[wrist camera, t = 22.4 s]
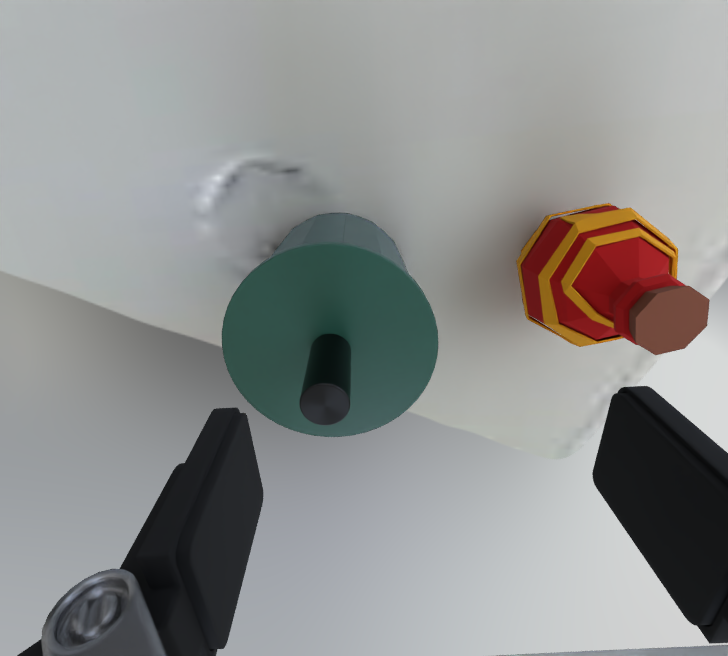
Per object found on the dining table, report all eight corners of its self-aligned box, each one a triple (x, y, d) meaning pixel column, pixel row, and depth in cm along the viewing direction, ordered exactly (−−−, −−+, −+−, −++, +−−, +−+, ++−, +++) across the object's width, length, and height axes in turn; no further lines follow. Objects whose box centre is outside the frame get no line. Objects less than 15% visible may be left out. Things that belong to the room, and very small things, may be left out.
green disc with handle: (206, 247, 22) (150, 285, 16) (435, 231, 22) (466, 263, 16) (248, 431, 28) (218, 512, 22) (434, 419, 28) (456, 497, 22)
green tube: (262, 217, 34) (213, 256, 22) (402, 208, 34) (428, 241, 22) (283, 343, 39) (251, 430, 27) (405, 334, 39) (428, 418, 27)
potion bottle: (479, 302, 37) (552, 392, 24) (510, 185, 33) (620, 213, 20) (587, 314, 38) (716, 409, 25) (630, 202, 34) (815, 240, 20)
